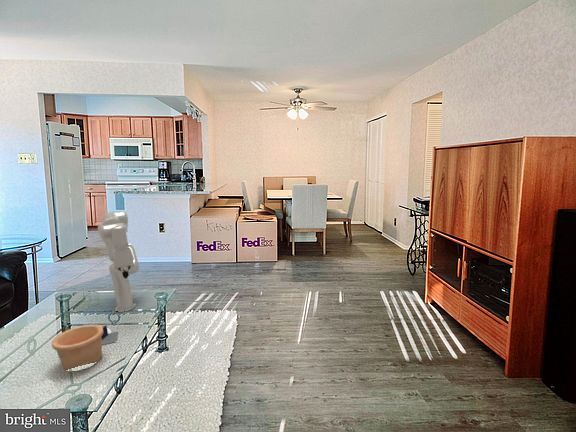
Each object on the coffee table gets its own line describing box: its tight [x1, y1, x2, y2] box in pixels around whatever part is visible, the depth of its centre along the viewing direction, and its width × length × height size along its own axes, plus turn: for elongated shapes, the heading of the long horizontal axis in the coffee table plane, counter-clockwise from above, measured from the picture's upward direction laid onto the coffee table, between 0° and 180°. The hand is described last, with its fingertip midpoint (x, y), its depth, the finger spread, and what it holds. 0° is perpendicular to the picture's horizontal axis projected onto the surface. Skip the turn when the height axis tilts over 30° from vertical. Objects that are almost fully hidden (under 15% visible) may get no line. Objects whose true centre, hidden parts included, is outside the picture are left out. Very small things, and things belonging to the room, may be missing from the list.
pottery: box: [51, 323, 104, 371], centre depth 176 cm, size 22×22×14 cm
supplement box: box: [99, 324, 109, 339], centre depth 200 cm, size 6×6×11 cm
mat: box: [102, 331, 119, 346], centre depth 196 cm, size 12×20×1 cm, turn 111°
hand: (126, 277), depth 208 cm, fingers closed
